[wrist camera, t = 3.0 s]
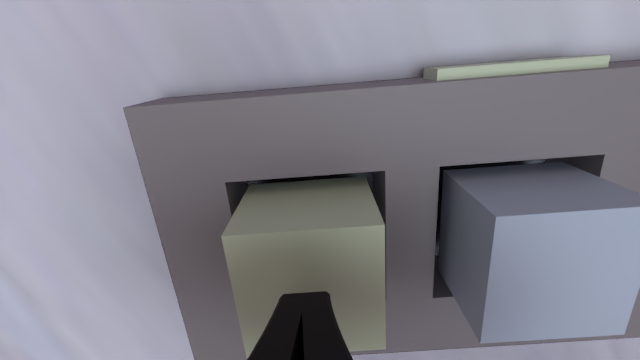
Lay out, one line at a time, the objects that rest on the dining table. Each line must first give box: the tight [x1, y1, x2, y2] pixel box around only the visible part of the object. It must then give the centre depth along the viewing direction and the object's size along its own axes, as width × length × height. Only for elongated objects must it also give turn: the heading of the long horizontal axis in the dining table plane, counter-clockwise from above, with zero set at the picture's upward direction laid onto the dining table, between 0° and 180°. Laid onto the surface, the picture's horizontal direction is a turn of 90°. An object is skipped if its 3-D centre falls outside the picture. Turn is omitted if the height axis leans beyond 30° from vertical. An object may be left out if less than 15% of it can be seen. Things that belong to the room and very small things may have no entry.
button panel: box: [123, 55, 640, 360], centre depth 14 cm, size 12×28×3 cm, turn 94°
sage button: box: [221, 176, 386, 358], centre depth 12 cm, size 5×5×4 cm
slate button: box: [438, 162, 640, 344], centre depth 12 cm, size 5×5×4 cm
